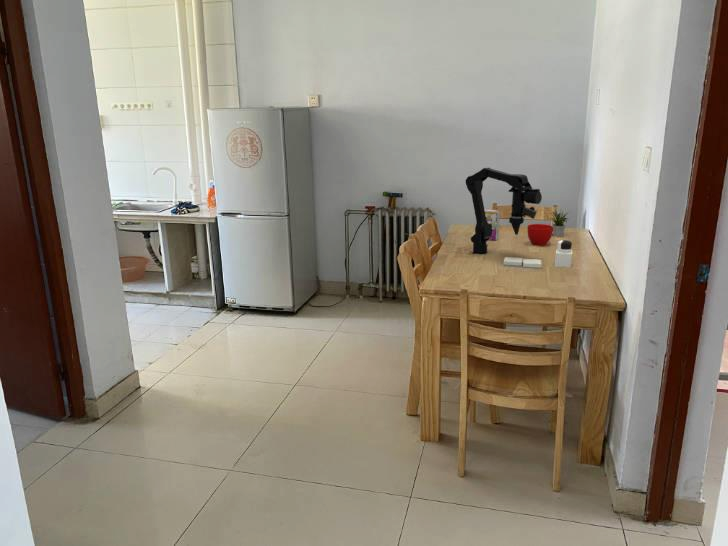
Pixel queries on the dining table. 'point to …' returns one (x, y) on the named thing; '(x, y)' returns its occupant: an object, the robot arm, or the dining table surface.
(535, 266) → the flat tile
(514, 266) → the mat
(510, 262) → the tile
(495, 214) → the candy bar box
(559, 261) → the medicine bottle
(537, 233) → the ceramic cup
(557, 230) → the house plant
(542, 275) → the dining table surface
